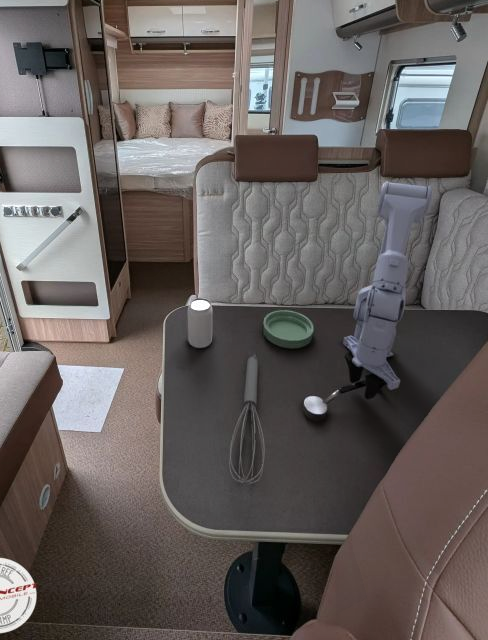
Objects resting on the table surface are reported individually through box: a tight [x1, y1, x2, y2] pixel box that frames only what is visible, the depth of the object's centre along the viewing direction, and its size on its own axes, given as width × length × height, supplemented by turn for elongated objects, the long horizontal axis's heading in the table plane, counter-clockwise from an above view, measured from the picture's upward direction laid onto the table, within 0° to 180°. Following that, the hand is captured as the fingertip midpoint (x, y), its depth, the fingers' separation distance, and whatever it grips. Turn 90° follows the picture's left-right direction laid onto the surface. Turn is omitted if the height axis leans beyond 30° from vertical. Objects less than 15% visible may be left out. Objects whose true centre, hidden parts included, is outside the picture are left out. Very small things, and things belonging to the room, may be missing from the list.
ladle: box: [302, 379, 384, 422], centre depth 79 cm, size 20×5×5 cm, turn 110°
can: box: [187, 297, 213, 349], centre depth 95 cm, size 6×6×12 cm
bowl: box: [262, 309, 315, 349], centre depth 101 cm, size 14×14×3 cm
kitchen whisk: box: [229, 353, 266, 486], centre depth 76 cm, size 6×34×6 cm, turn 172°
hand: (361, 389), depth 81 cm, fingers open, 4 cm apart
